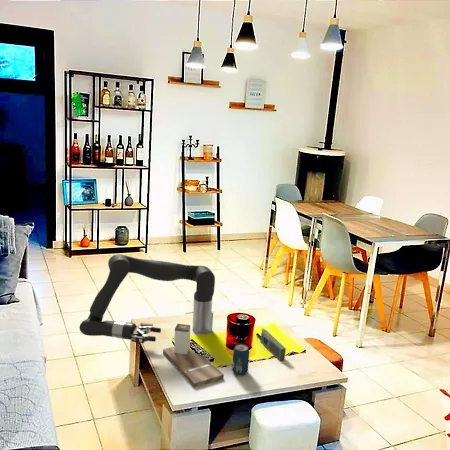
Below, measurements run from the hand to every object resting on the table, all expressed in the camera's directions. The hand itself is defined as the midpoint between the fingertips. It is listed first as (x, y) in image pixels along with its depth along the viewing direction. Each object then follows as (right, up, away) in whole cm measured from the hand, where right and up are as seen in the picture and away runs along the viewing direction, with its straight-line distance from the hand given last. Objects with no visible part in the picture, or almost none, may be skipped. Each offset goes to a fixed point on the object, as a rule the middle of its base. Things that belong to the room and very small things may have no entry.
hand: (158, 334), depth 214 cm
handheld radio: (+52, -10, +12) cm, 54 cm away
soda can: (+37, -14, -10) cm, 41 cm away
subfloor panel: (+16, -12, -7) cm, 21 cm away
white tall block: (+11, -7, 0) cm, 13 cm away
